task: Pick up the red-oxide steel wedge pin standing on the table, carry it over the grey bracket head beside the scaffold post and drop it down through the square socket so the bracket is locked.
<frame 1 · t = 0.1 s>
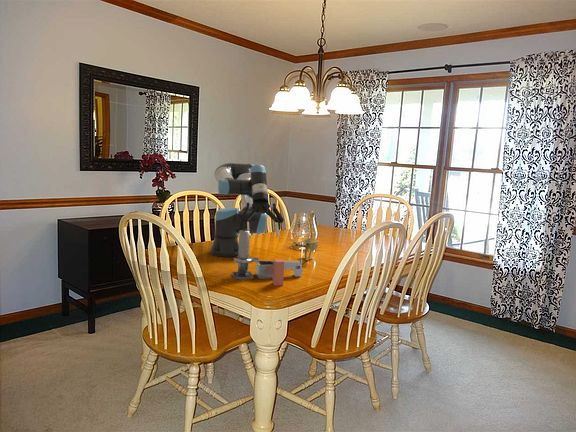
hand: (263, 236, 204), 15 cm above the table, tool tilted 35°, fingers open, 13 cm apart
wedge pin: (277, 284, 186), on the table
bracket: (265, 276, 196), on the table
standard: (242, 276, 194), on the table
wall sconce: (307, 260, 228), on the table
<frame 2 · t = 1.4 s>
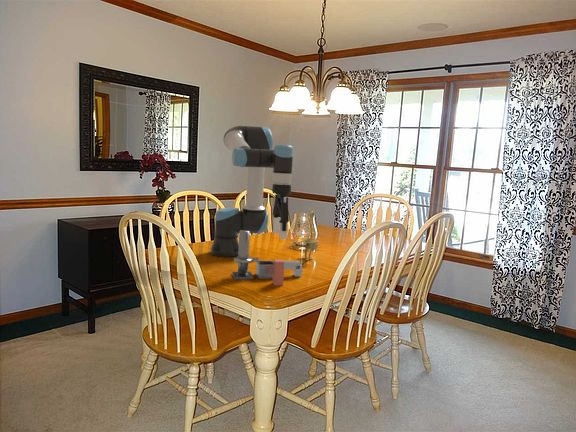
hand: (279, 235, 184), 20 cm above the table, tool pointing down, fingers open, 13 cm apart
nothing on the table moved.
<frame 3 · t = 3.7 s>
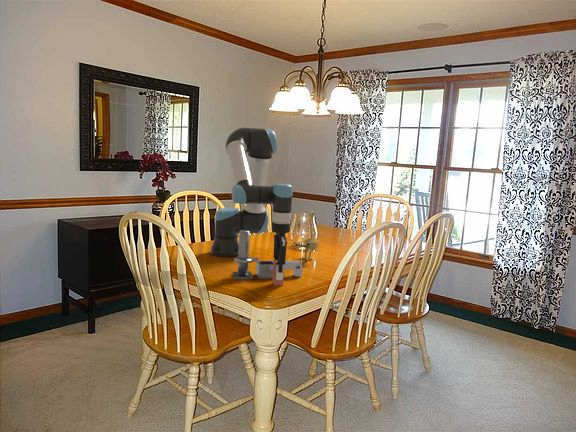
hand: (278, 277, 186), 3 cm above the table, tool pointing down, fingers closed on wedge pin, 4 cm apart
wedge pin: (277, 284, 186), on the table, touching gripper
everything else where it was.
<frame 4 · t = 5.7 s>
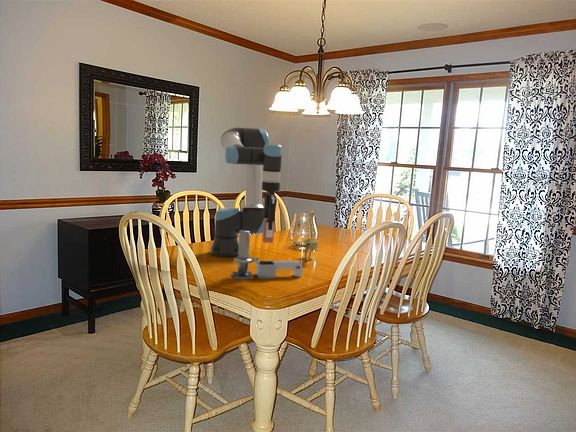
hand: (268, 235, 193), 18 cm above the table, tool pointing down, fingers closed on wedge pin, 4 cm apart
wedge pin: (267, 241, 194), point 15 cm above the table, touching gripper
everything else where it was.
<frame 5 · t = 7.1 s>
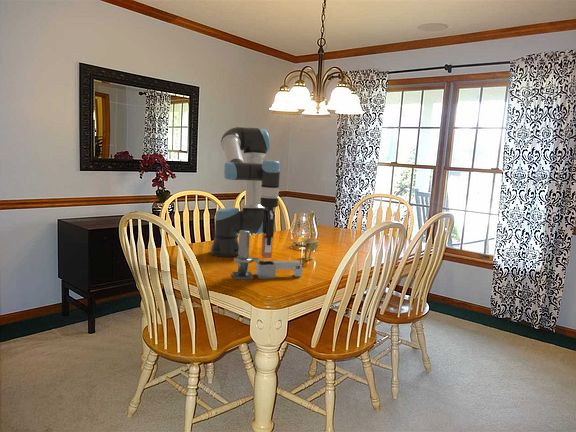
hand: (266, 251, 194), 11 cm above the table, tool pointing down, fingers closed on wedge pin, 4 cm apart
wedge pin: (266, 256, 195), point 9 cm above the table, touching gripper
everything else where it was.
when the fingers open (8 cm above the table, at t = 8.0 s): wedge pin drops 5 cm, resting in bracket.
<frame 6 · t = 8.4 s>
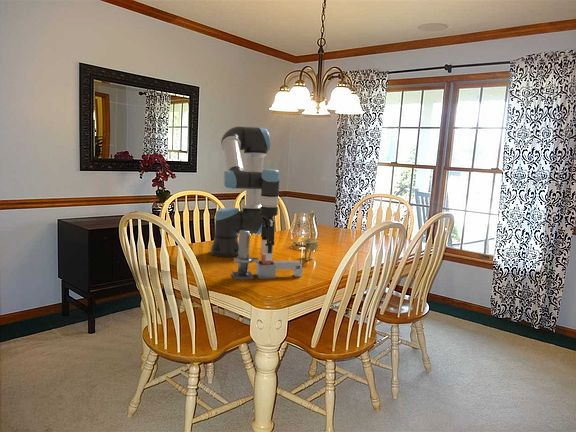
hand: (266, 257, 195), 9 cm above the table, tool pointing down, fingers open, 9 cm apart
wedge pin: (265, 276, 196), resting in bracket
everything else where it was.
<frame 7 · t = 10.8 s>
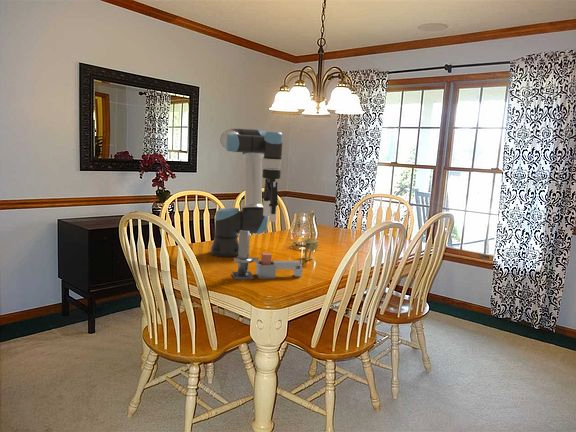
hand: (269, 218, 194), 25 cm above the table, tool pointing down, fingers open, 13 cm apart
nothing on the table moved.
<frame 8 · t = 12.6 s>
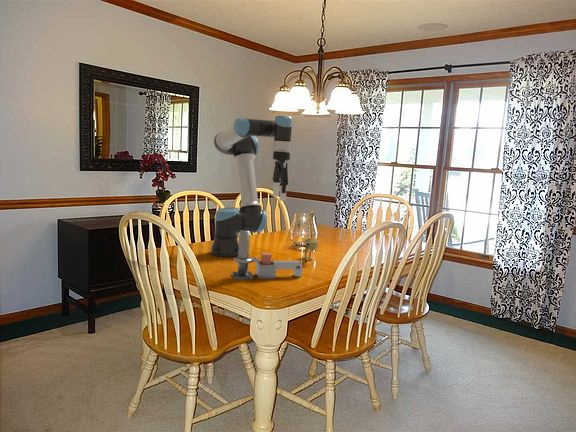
hand: (279, 198, 204), 33 cm above the table, tool pointing down, fingers open, 13 cm apart
nothing on the table moved.
at the end: wedge pin 0.0 cm off-centre on the bracket, point 0.0 cm above the bracket's base; wedge pin tilted 0°; the gripper is holding nothing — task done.
